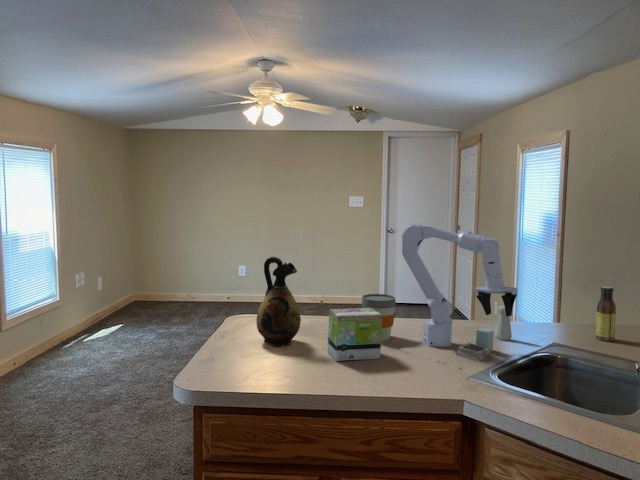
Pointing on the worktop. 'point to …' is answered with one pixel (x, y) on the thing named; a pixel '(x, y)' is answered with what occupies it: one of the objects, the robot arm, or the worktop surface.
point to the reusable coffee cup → (382, 310)
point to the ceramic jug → (278, 307)
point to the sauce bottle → (606, 315)
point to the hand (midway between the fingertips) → (498, 315)
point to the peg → (485, 338)
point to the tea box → (354, 334)
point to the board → (475, 352)
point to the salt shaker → (503, 326)
